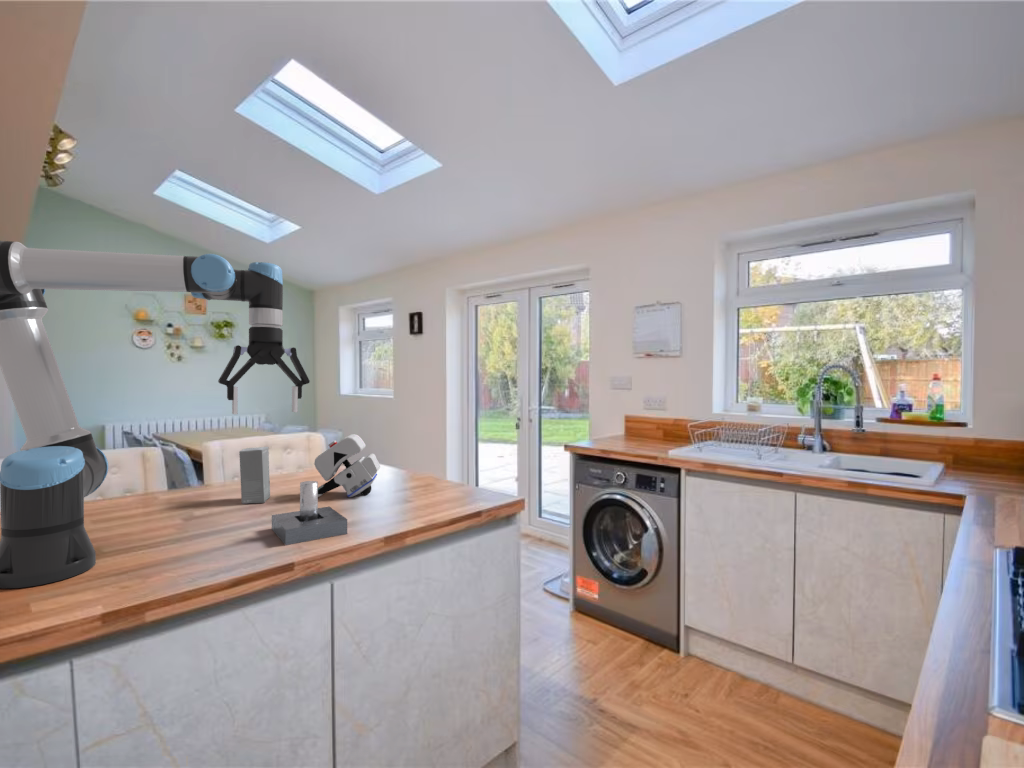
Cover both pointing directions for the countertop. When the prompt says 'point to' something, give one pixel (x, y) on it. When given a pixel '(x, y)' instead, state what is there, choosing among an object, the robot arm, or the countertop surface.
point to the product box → (254, 475)
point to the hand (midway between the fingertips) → (265, 413)
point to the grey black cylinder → (308, 500)
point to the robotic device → (347, 467)
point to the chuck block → (308, 526)
